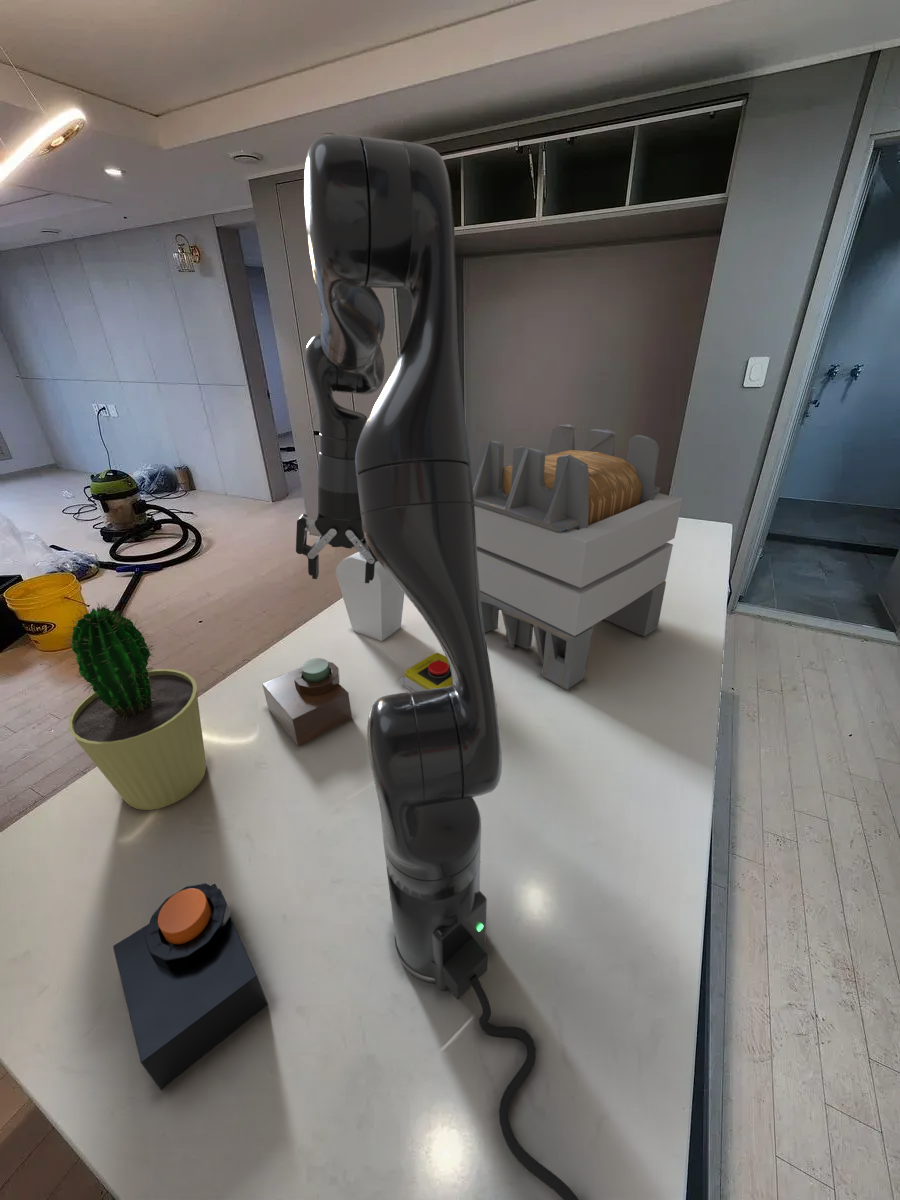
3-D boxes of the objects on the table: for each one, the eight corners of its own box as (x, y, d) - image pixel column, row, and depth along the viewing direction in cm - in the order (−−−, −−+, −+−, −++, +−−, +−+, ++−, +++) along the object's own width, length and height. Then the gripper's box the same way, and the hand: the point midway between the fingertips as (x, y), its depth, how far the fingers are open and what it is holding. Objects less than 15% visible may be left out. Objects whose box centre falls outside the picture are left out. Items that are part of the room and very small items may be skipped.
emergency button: (431, 642, 100) (490, 674, 91) (432, 661, 102) (490, 693, 93) (395, 663, 94) (455, 699, 85) (397, 682, 96) (455, 719, 87)
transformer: (445, 622, 115) (441, 437, 95) (539, 578, 133) (551, 415, 114) (568, 693, 92) (595, 470, 73) (660, 628, 111) (701, 436, 91)
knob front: (217, 923, 51) (212, 912, 50) (170, 955, 49) (164, 943, 48) (203, 891, 54) (198, 879, 53) (158, 919, 52) (152, 907, 51)
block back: (358, 715, 88) (353, 681, 85) (298, 746, 82) (290, 710, 78) (324, 683, 96) (319, 650, 93) (268, 709, 90) (259, 675, 86)
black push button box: (269, 1003, 51) (254, 964, 47) (160, 1090, 45) (134, 1053, 42) (227, 910, 59) (211, 870, 56) (130, 974, 54) (106, 934, 50)
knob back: (334, 676, 86) (333, 666, 85) (310, 686, 84) (309, 676, 83) (322, 664, 89) (320, 654, 88) (299, 674, 87) (297, 664, 86)
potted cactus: (228, 793, 74) (170, 616, 59) (106, 841, 67) (6, 656, 53) (213, 729, 86) (161, 568, 71) (108, 765, 79) (27, 596, 65)
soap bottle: (415, 624, 114) (408, 514, 102) (386, 645, 107) (375, 530, 94) (373, 610, 120) (362, 504, 108) (343, 629, 113) (327, 518, 100)
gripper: (290, 485, 73) (293, 586, 81) (389, 495, 74) (383, 593, 82) (300, 472, 80) (302, 566, 87) (391, 481, 81) (385, 573, 89)
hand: (341, 579), depth 85 cm, fingers open, 8 cm apart
